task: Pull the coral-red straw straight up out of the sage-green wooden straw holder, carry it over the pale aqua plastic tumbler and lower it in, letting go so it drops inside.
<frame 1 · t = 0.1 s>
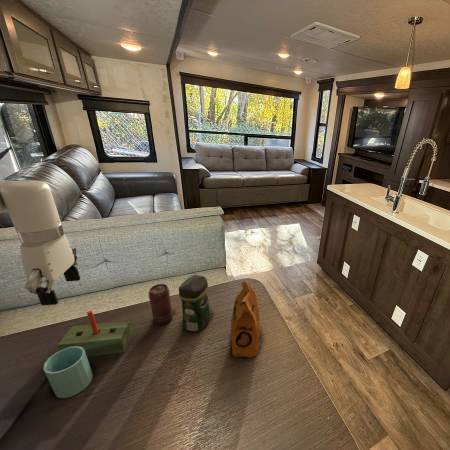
hand: (62, 291, 65), 24 cm above the table, tool pointing down, fingers open, 9 cm apart
straw: (95, 329, 75), in the straw holder
tumbler: (74, 383, 67), on the table
coffee package: (245, 343, 84), on the table
straw holder: (100, 346, 78), on the table
can: (163, 320, 90), on the table
coffee jar: (197, 322, 90), on the table
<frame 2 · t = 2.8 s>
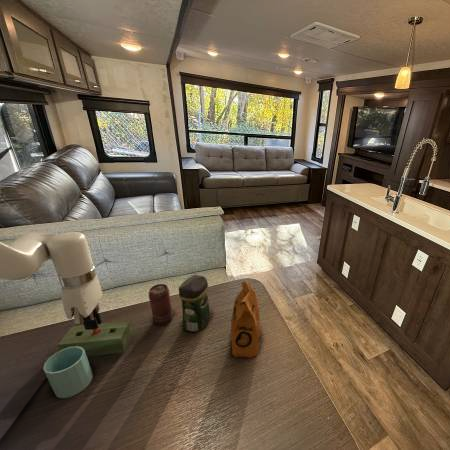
hand: (93, 326, 75), 9 cm above the table, tool pointing down, fingers closed on straw, 1 cm apart
straw: (95, 329, 75), in the straw holder, touching gripper
everything else where it was.
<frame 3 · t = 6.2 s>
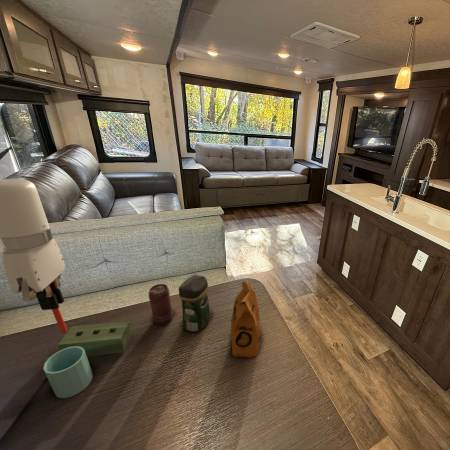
hand: (53, 305, 60), 25 cm above the table, tool pointing down, fingers closed on straw, 1 cm apart
straw: (55, 310, 60), point 23 cm above the table, touching gripper
everything else where it was.
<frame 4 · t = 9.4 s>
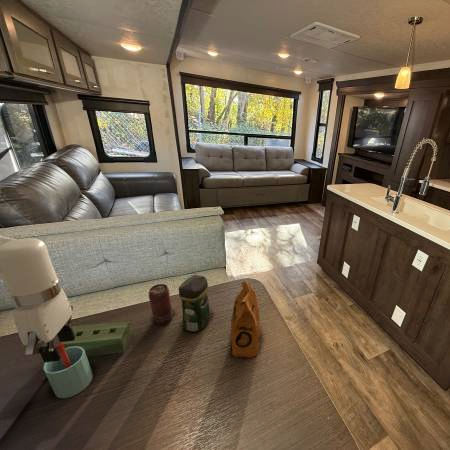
hand: (60, 349, 62), 13 cm above the table, tool pointing down, fingers open, 5 cm apart
straw: (67, 363, 64), in the tumbler, point 8 cm above the table
tumbler: (74, 383, 67), on the table, touching straw
everything else where it was.
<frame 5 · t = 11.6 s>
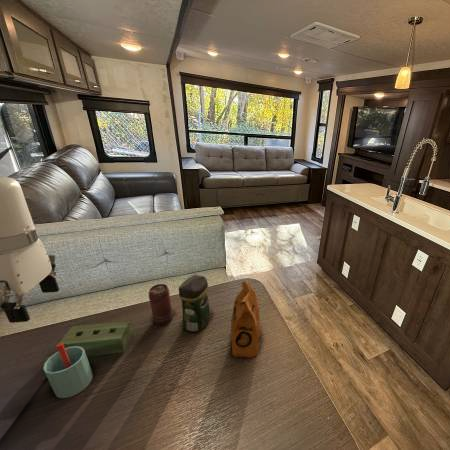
hand: (36, 305, 56), 27 cm above the table, tool pointing down, fingers open, 9 cm apart
nothing on the table moved.
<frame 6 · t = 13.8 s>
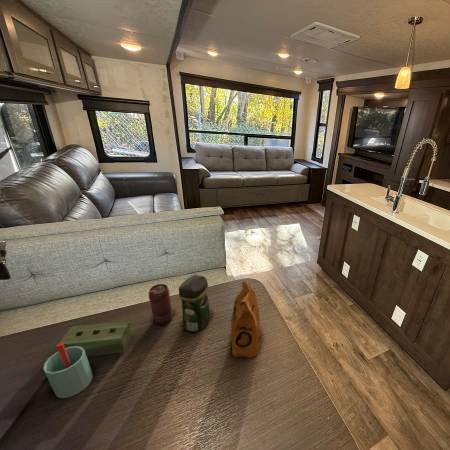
nothing on the table moved.
at the end: straw 0.2 cm off-centre in the tumbler, point 7.6 cm above the tumbler's base; tumbler tilted 0°; the gripper is holding nothing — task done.
